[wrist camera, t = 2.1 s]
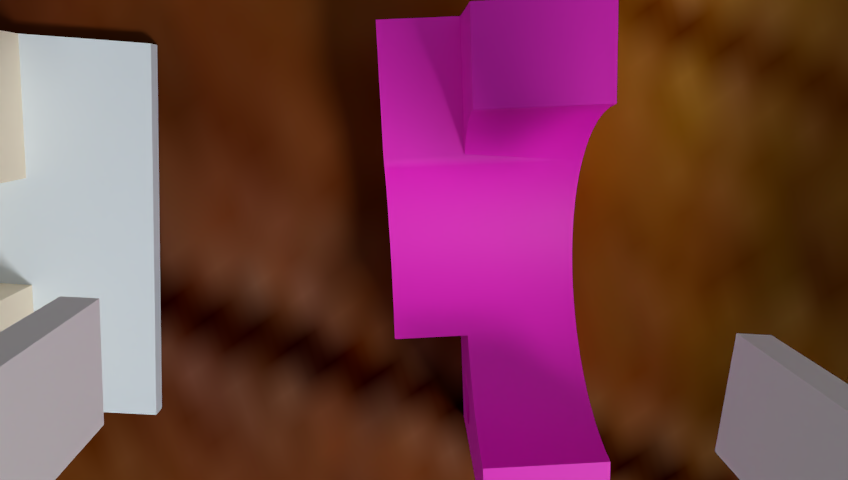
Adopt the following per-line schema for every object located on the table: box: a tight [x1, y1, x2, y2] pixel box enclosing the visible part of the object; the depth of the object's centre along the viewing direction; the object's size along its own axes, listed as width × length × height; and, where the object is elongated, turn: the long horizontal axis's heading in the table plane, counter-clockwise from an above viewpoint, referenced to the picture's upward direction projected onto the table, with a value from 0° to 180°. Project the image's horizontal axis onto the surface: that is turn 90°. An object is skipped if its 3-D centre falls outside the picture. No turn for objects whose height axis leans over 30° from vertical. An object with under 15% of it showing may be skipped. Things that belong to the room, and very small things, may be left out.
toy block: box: [376, 0, 619, 480], centre depth 22 cm, size 15×6×8 cm, turn 3°
